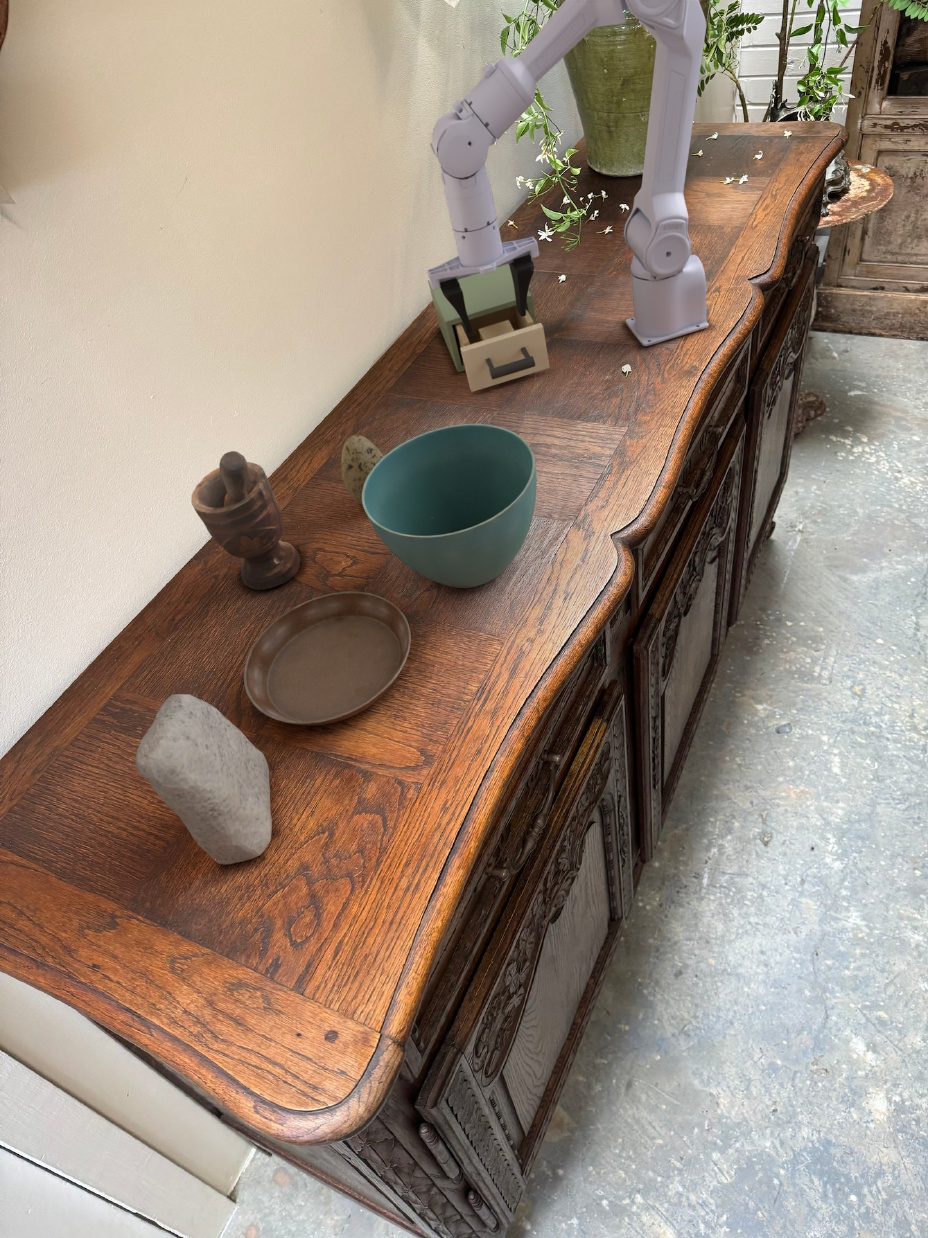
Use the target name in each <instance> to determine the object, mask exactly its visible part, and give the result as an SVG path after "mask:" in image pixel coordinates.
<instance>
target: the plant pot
mask: <svg viewBox="0 0 928 1238" xmlns="http://www.w3.org/2000/svg"><path fill="white" fill-rule="evenodd" d="M383 456H384V457H383V458H382V459H381V460H380V461H379V462H378V463H377V464H376V465H375V467H374V468H373V469H372V471H371V472H370V474H369V475H368V477H367V479H366V481H365V483H364V486H363V491H362V504H363V506H362V507H363V510H364V512H365V514H366V517H367V519H368V520H369V522H370V524H371V526H372V528H373V529H374V531H375V533H376V534H377V536H378V537H379V539H380V540H381V541H382V542H383V543H384V544H385V546H386V547H387V548H388V550H389V551H390V552H392V554H393V555H394V556H395V557H396V558H397V559H398V560H400V561H401V563H403V564H404V565H405V566H407V567H408V568H410V569H411V570H412V571H414V572H415V573H417V574H418V575H420V576H422V577H424V578H426V579H428V580H431V581H433V582H436V583H438V584H440V585H444V586H448V587H452V588H459V589H470V588H476V587H479V586H480V587H481V586H483V585H485V584H488V583H490V582H491V581H493V580H495V579H496V578H497V577H499V576H500V575H501V574H503V572H505V570H506V569H507V568H508V567H509V566H510V565H511V563H512V562H513V561H514V560H515V558H516V557H517V555H518V554H519V552H520V550H521V548H522V547H523V545H524V543H525V541H526V538H527V536H528V533H529V531H530V529H531V525H532V521H533V518H534V513H535V507H536V501H537V487H538V485H537V484H538V483H537V481H538V480H537V479H538V477H537V466H536V460H535V454H534V452H533V450H532V448H531V446H530V444H529V443H528V442H527V441H526V440H525V439H524V438H523V437H521V436H520V435H519V434H517V433H516V432H514V431H511V430H510V429H508V428H504V427H501V426H496V425H491V424H485V423H484V424H483V423H465V424H455V425H448V426H444V427H440V428H436V429H433V430H430V431H427V432H423V433H422V434H419V435H417V436H414V437H412V438H409V439H408V440H406V441H404V442H402V443H401V444H399V445H397V446H396V447H395V448H393V449H392V450H391V451H388V453H386V454H385V455H383Z"/></svg>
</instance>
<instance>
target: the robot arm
mask: <svg viewBox="0 0 928 1238" xmlns="http://www.w3.org/2000/svg"><path fill="white" fill-rule="evenodd" d="M624 11H626V12H628V13H630V14H631V15H632V16H634V18H637V20H638V21H639V22H640V23H641V25H642V26H643V27H644V28H645V30H646V31H647V32H648V33H649V34H650V35H651V37H653V39H654V40H655V42H656V46H655V56H654V65H653V75H652V84H651V95H650V103H649V112H648V121H647V122H648V124H647V133H646V142H645V152H644V160H643V161H644V162H643V170H642V171H643V172H642V179H641V187H640V189H639V190H638V192H637V193H636V194H635V196H634V198H633V205H632V210H631V212H630V214H629V216H628V218H627V220H626V221H625V225H624V229H623V238H624V241H625V244H626V245H627V247H628V248H629V249H631V250H632V251H633V257H632V260H631V263H630V275H631V276H630V277H631V288H632V290H631V291H632V301H633V302H632V303H633V316H632V317H629V318H627V319H625V324H626V326H627V327H628V328H629V330H630V331H631V332H632V333H633V335H634V336H635V337H636V338H637V340H638V341H639V343H640V344H641V345H642V346H643V347H650V346H652V345H656V344H659V343H662V342H666V341H669V340H672V339H674V338H678V337H682V336H685V335H688V334H691V333H694V332H698V331H701V330H704V329H707V328H709V326H710V325H709V322H708V321H707V279H706V278H707V277H706V274H705V268H704V265H703V263H702V261H701V259H700V258H699V256H698V255H696V254H691V252H692V241H691V239H690V236H689V231H688V227H689V219H690V218H689V213H688V209H687V204H686V200H685V196H684V191H685V184H686V183H685V181H686V174H687V167H688V161H689V153H690V145H691V139H692V133H693V132H692V131H693V125H694V118H695V117H694V116H695V112H696V111H695V109H696V103H697V95H698V90H699V89H698V87H699V81H700V74H701V67H702V60H703V54H704V45H705V40H706V39H705V38H706V32H707V31H706V30H707V21H706V17H705V14H704V11H703V9H702V6H701V3H700V0H564V1H563V2H562V4H561V5H560V6H559V7H558V8H557V10H556V11H555V12H554V13H553V15H551V17H550V18H549V19H548V20H547V22H546V23H544V25H543V26H542V27H541V29H540V30H539V31H538V32H537V33H536V35H535V36H534V37H533V38H532V39H531V40H530V42H529V43H528V44H527V45H526V47H525V48H524V49H523V50H522V51H521V52H520V54H518V56H516V57H501V58H499V59H498V61H497V62H496V63H495V64H493V62H491V61H489V62H488V63H487V64H486V65H484V67H483V68H482V70H481V71H482V73H483V75H484V76H483V77H482V78H481V79H480V80H479V81H478V82H477V83H476V85H474V87H472V89H471V90H470V91H469V92H468V94H466V96H464V98H463V99H462V100H460V99H456V100H455V101H454V103H452V109H453V110H452V111H451V112H446V113H444V114H443V115H441V116H440V117H439V118H438V120H436V122H435V124H434V126H433V127H432V130H433V131H432V133H431V143H430V148H431V150H432V153H433V154H434V155H435V157H436V158H437V161H438V163H439V166H440V173H441V174H440V177H441V181H442V184H443V185H444V186H443V194H444V198H445V202H446V206H447V211H448V216H449V220H450V224H451V227H452V232H453V237H454V241H455V245H456V250H457V256H456V257H453V258H452V259H449V260H447V261H446V262H443V263H441V264H439V265H437V266H434V267H432V268H429V269H427V270H426V273H427V277H428V280H429V281H430V284H431V287H432V289H433V290H434V289H438V288H441V290H442V293H443V295H444V296H445V298H446V299H447V300H448V301H449V302H450V304H451V305H452V306H453V307H454V309H455V310H456V312H457V313H458V315H459V316H460V318H461V320H462V321H463V324H464V327H465V330H466V332H467V334H469V333H472V328H471V324H470V321H469V318H468V315H467V312H466V307H465V302H464V296H463V292H462V290H461V288H460V284H459V282H458V280H459V279H462V278H465V277H468V276H471V275H474V274H477V273H480V274H483V275H484V274H487V273H491V272H494V271H495V270H496V267H500V266H503V265H506V264H509V266H510V270H511V275H512V279H513V284H514V290H515V298H516V305H517V309H518V312H519V314H520V315H521V317H523V316H526V301H527V294H528V291H529V288H530V284H531V280H532V277H533V275H534V273H535V265H534V264H535V263H534V261H533V260H532V259H535V258H538V257H540V251H539V244H538V241H537V240H536V239H535V237H534V236H530V237H526V238H521V239H515V240H511V241H503V242H502V238H501V234H500V227H499V222H498V216H497V212H496V211H497V210H496V206H495V201H494V196H493V195H494V194H493V190H492V184H491V179H490V177H489V175H488V173H487V167H486V162H487V159H488V155H489V147H490V146H493V145H494V144H495V143H496V142H497V141H498V140H499V139H500V138H501V137H502V136H503V135H504V134H505V133H506V132H507V131H508V130H509V129H510V128H511V127H512V126H513V124H515V123H516V121H517V120H518V119H519V118H520V117H521V116H522V115H523V114H524V113H525V112H526V111H527V110H528V109H529V108H530V107H531V106H532V105H533V103H534V102H535V99H536V89H537V84H538V82H539V81H540V80H542V78H544V76H545V75H547V73H549V72H550V70H552V68H554V67H555V66H556V65H557V64H558V63H559V62H560V61H561V60H562V59H563V58H564V57H565V56H566V55H567V54H568V53H569V52H571V50H573V48H574V47H576V46H577V45H578V43H579V42H581V41H582V40H584V38H585V37H586V36H587V35H588V34H589V33H590V32H591V31H592V30H593V29H595V28H601V27H608V26H615V25H623V24H626V23H627V20H626V15H625V13H624Z"/></svg>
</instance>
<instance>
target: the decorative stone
mask: <svg viewBox="0 0 928 1238" xmlns="http://www.w3.org/2000/svg"><path fill="white" fill-rule="evenodd" d="M134 762H135V768H136V769H137V771H138V773H139V774H140V776H141V777H142V778H143V779H145V780H146V781H147V782H148V783H149V785H150V787H152V789H153V790H154V791H155V792H156V794H157V795H158V796H159V798H160V799H161V800H162V801H163V802H164V803H165V804H166V805H167V806H168V808H169V809H171V810H172V811H173V812H174V813H175V814H176V815H177V816H178V818H179V819H180V820H181V821H182V823H183V825H184V826H185V828H186V829H187V831H188V832H189V833H190V835H191V836H192V838H193V840H194V841H195V842H196V844H197V846H199V848H201V849H202V850H203V851H204V852H205V853H207V854H208V855H209V857H210V858H211V859H213V860H214V859H220V860H214V861H215V862H216V863H217V864H218V865H231V864H237V863H242V862H245V861H249V860H253V859H255V858H257V857H259V856H261V855H262V854H263V853H264V852H265V850H266V849H267V848H268V847H269V845H270V843H271V840H272V831H273V830H272V829H273V828H272V826H273V818H272V811H271V787H270V786H271V785H270V769H269V764H268V762H267V759H266V757H265V755H264V753H263V752H262V751H261V750H259V749H258V748H257V747H256V746H255V745H254V744H253V743H252V742H251V741H250V739H248V738H247V737H246V736H245V734H244V733H243V732H242V731H241V730H240V729H239V728H238V727H236V726H235V725H234V724H233V723H232V722H231V721H230V720H229V719H228V718H226V717H225V715H223V714H222V712H221V711H219V710H218V709H217V708H216V707H215V706H213V705H212V704H210V703H208V702H206V701H205V700H203V699H200V698H199V697H196V696H194V695H192V694H187V693H186V694H184V693H180V694H179V693H178V694H176V693H174V694H171V695H170V696H168V697H167V698H166V699H165V701H164V702H163V703H162V705H161V706H160V708H159V710H158V711H157V712H156V714H155V718H154V721H153V722H152V724H151V726H150V727H149V728H148V730H147V731H146V733H145V734H144V735H143V737H142V738H141V741H140V742H139V745H138V747H137V750H136V754H135V761H134ZM221 859H222V860H221ZM224 859H227V860H224Z"/></svg>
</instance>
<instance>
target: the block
mask: <svg viewBox="0 0 928 1238" xmlns="http://www.w3.org/2000/svg"><path fill="white" fill-rule="evenodd" d="M513 331H514V329H513V327H512V326H511V324H510V322H509V320H506V321H503V322H500V323H497V324H494V325H490V326H487V327H484V328H481V329H479V334H480V338H481V341H484V340H487V339H490V338H493V337H497V336H500V335H503V334H506V333H510V332H513Z"/></svg>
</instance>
